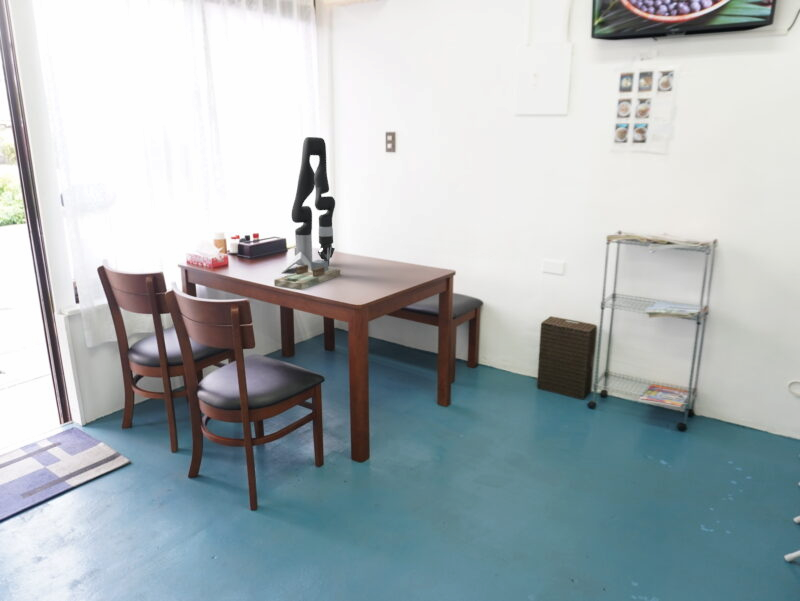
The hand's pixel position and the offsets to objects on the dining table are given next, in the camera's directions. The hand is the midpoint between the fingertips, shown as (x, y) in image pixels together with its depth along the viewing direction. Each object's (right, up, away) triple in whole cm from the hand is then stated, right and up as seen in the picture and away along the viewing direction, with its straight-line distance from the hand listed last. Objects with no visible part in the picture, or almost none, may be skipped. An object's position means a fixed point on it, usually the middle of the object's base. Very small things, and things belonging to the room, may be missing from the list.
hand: (326, 266), depth 305 cm
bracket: (-18, -1, +13) cm, 22 cm away
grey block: (-3, -3, -5) cm, 6 cm away
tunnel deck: (-8, -8, -13) cm, 17 cm away
